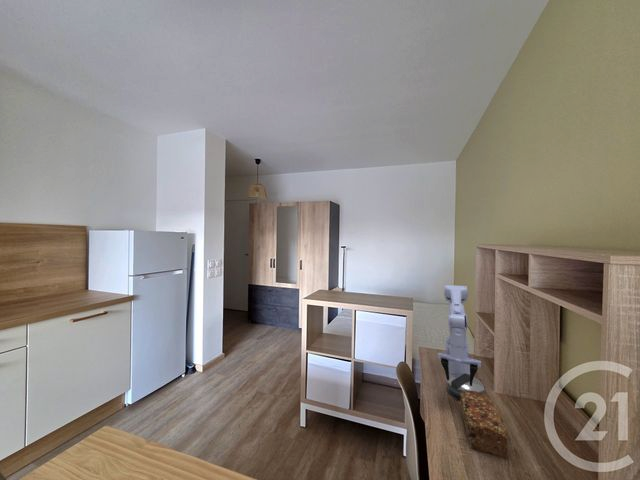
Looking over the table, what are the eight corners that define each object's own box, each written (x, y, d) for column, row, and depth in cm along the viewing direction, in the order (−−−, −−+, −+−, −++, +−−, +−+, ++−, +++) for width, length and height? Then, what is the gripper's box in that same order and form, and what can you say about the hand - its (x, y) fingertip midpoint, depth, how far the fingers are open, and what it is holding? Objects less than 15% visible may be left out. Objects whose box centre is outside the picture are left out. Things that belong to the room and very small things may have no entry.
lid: (456, 371, 115) (456, 365, 115) (489, 385, 103) (489, 378, 103) (437, 382, 106) (437, 375, 106) (472, 398, 95) (471, 390, 95)
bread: (460, 412, 93) (459, 385, 94) (493, 419, 89) (492, 391, 90) (468, 450, 76) (467, 417, 77) (510, 461, 72) (509, 426, 72)
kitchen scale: (443, 382, 114) (443, 373, 114) (477, 386, 110) (477, 377, 110) (453, 407, 96) (452, 396, 96) (493, 413, 92) (492, 402, 92)
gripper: (436, 344, 97) (437, 380, 95) (480, 351, 89) (482, 391, 87) (438, 340, 103) (439, 374, 101) (479, 347, 95) (481, 384, 93)
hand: (459, 382), depth 95 cm, fingers open, 7 cm apart
